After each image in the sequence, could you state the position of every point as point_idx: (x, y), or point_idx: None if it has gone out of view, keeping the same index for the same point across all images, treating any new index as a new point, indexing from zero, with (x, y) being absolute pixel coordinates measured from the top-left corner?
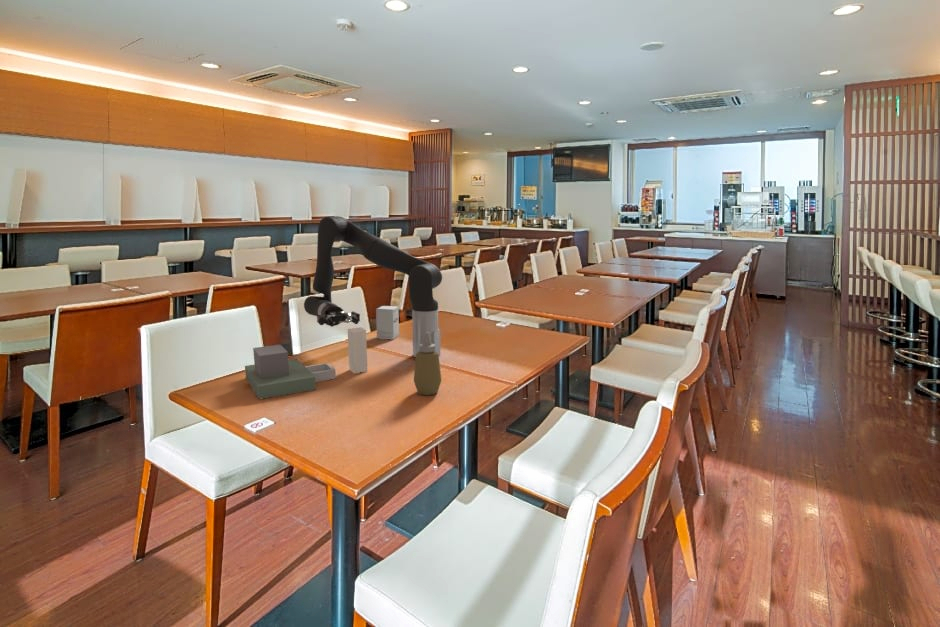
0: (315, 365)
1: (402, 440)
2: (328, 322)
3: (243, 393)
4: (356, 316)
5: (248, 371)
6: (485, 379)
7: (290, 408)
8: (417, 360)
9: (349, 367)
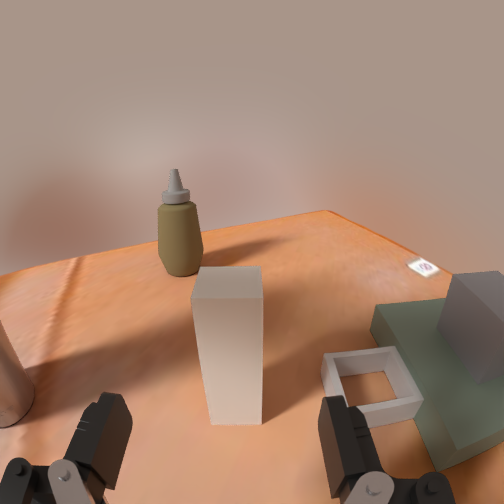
0: (384, 401)
1: (278, 224)
2: (362, 420)
3: None
4: (51, 468)
5: None
6: (82, 272)
7: (399, 286)
8: (196, 213)
9: (261, 417)
